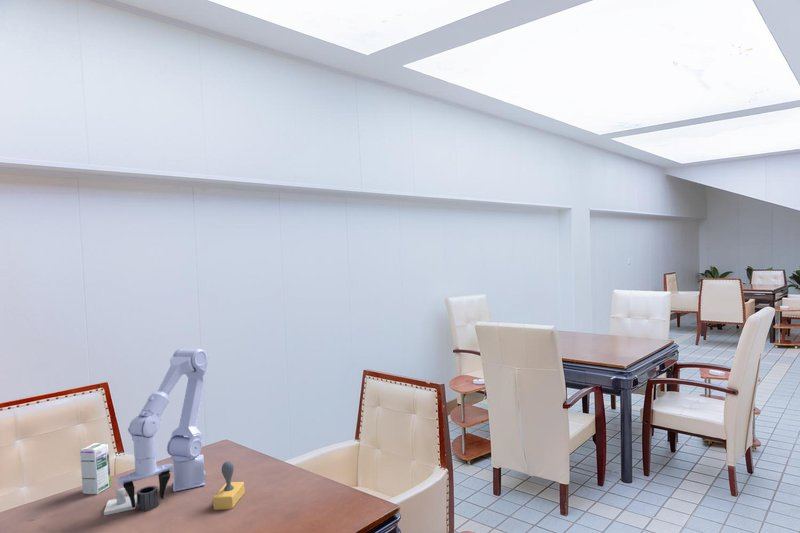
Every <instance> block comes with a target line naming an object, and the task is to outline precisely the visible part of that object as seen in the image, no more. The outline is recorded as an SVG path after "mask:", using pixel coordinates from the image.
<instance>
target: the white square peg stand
mask: <svg viewBox="0 0 800 533" xmlns="http://www.w3.org/2000/svg"><path fill="white" fill-rule="evenodd" d="M115 495H116V498H113V499H109V500H107V501H106V502H107V503H106V505H105V508H104V510H103V516H108V515H112V514H118V513H122V512H127V511H131V510H136V506H137V494H134V497H135V507H134V508H133V507H132V505H131V500H130V497H129V495H127V496H126V490H125V488H124V487H121V488H117V489H115Z"/></svg>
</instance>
